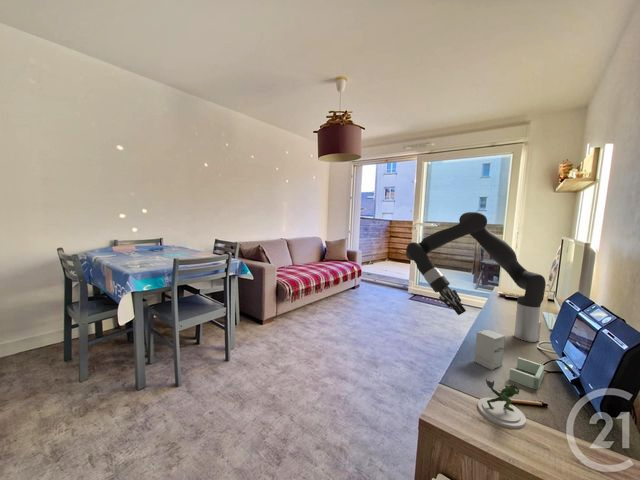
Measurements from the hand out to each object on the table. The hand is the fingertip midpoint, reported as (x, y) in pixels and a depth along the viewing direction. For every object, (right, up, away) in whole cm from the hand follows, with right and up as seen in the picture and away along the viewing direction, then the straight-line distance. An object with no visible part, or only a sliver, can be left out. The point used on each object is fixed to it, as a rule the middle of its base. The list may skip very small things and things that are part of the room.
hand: (462, 312), depth 117 cm
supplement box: (+7, -19, -7) cm, 21 cm away
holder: (+16, -20, -16) cm, 30 cm away
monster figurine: (-7, -21, -35) cm, 41 cm away
